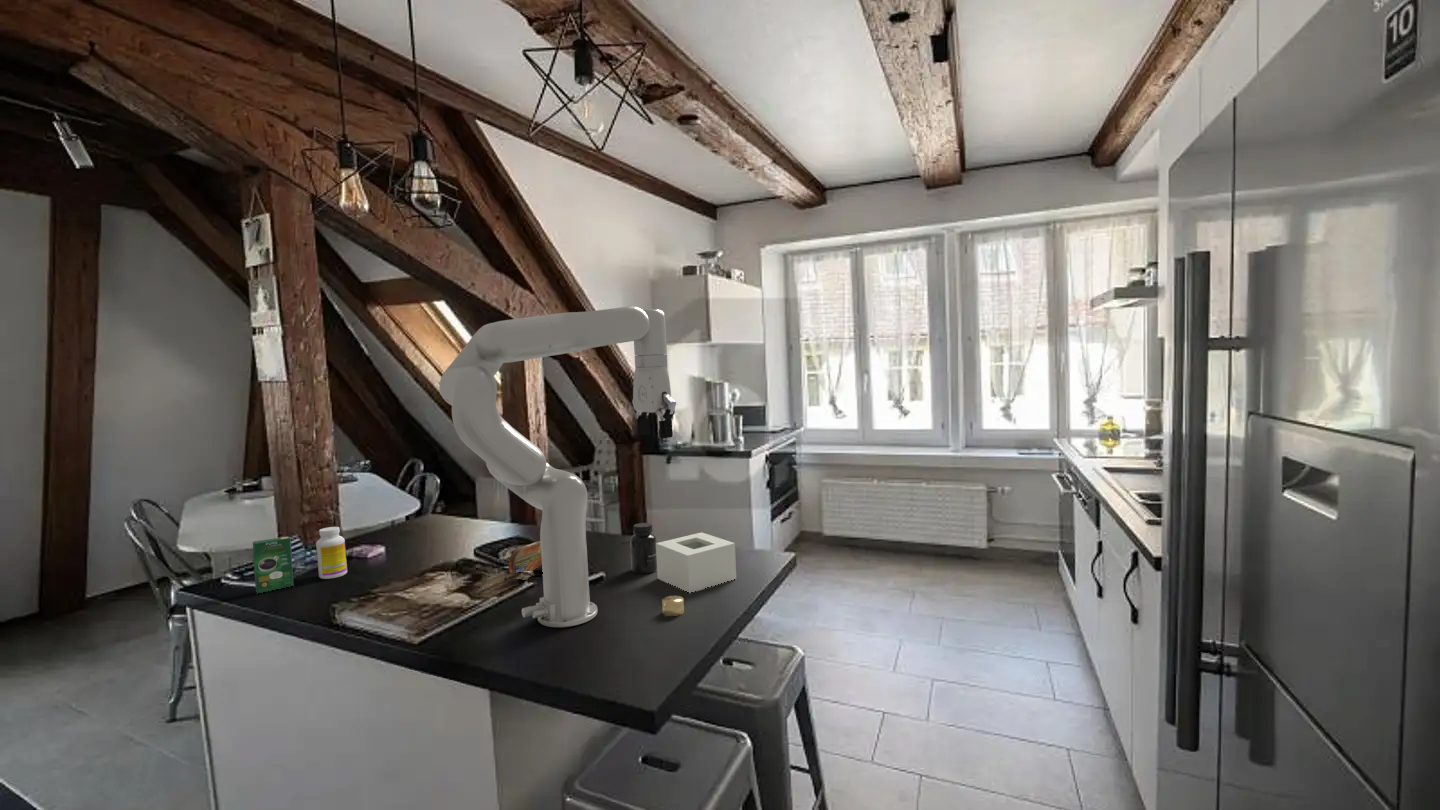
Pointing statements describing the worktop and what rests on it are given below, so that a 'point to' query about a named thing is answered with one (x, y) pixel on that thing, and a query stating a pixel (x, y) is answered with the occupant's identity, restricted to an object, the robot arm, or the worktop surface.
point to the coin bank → (696, 561)
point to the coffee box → (272, 564)
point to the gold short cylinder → (673, 605)
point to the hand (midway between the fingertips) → (654, 436)
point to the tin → (526, 558)
